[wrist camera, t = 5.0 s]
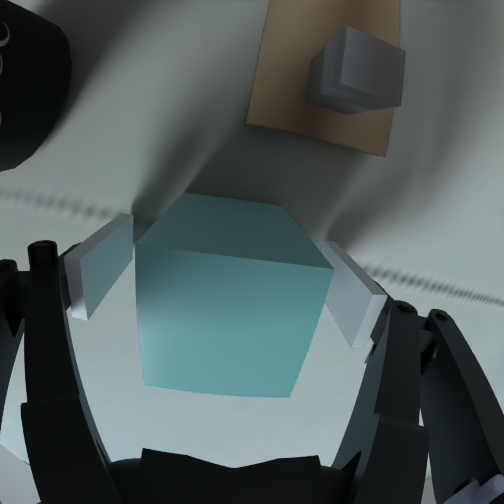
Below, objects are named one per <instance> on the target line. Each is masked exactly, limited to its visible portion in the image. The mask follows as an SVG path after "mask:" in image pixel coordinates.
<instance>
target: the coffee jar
mask: <svg viewBox="0 0 504 504" xmlns="http://www.w3.org/2000/svg"><path fill="white" fill-rule="evenodd" d="M71 64H72V62H71V55H70V48H69V42H68V40H67V38H66V37H65V35H64V33H63V32H62V30H61V29H60V27H58V26H57V25H55V24H53V23H51V22H49V21H48V20H46V19H44V18H42V17H40V16H38V15H36V14H35V13H33V12H31V11H29V10H27V9H25V8H23V7H21V6H19V5H17V4H14V3H12V2H10V1H8V0H0V172H1V171H5V170H9V169H14V168H16V167H17V166H18V165H20V164H21V163H22V162H24V161H25V160H27V159H28V158H29V157H31V156H32V155H33V154H34V152H35V151H36V150H37V149H38V147H39V146H40V145H41V144H42V142H43V141H44V140H45V139H46V138H47V136H48V134H49V133H50V132H51V130H52V128H53V126H54V124H55V122H56V121H57V119H58V117H59V115H60V113H61V112H62V108H63V105H64V102H65V99H66V96H67V93H68V90H69V83H70V75H71Z"/></svg>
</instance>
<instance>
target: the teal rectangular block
mask: <svg viewBox="0 0 504 504" xmlns="http://www.w3.org/2000/svg"><path fill="white" fill-rule="evenodd" d="M334 270H335V269H334V268H333V266H332V265H331V264H330V263H329V261H328V260H327V259H326V258H325V257H324V255H323V254H322V253H321V252H320V250H319V249H318V248H317V247H316V246H315V244H314V243H313V242H312V241H311V239H310V238H309V237H308V236H307V235H306V233H305V232H304V231H303V230H302V229H301V228H300V226H299V225H298V224H297V223H296V222H295V220H294V219H293V218H292V217H291V216H290V215H289V213H288V212H287V211H286V210H285V209H284V208H283V206H280V205H273V204H267V203H260V202H254V201H247V200H240V199H233V198H226V197H218V196H210V195H202V194H194V193H186V192H184V193H183V194H182V195H181V196H180V197H179V198H178V199H177V200H176V201H175V202H174V203H173V204H172V205H171V206H170V207H169V208H168V209H167V210H166V211H165V212H164V213H163V214H162V215H161V217H160V218H159V219H158V220H157V221H156V222H155V223H154V224H153V225H152V226H151V227H150V228H149V230H148V231H147V232H146V233H145V234H144V235H143V236H142V237H141V238H140V240H139V241H138V242H137V243H136V244H135V279H136V307H137V324H138V337H139V348H140V358H141V367H142V375H143V382H144V385H149V386H155V387H161V388H167V389H174V390H181V391H189V392H197V393H206V394H217V395H229V396H246V397H290V395H291V392H292V390H293V387H294V385H295V382H296V380H297V377H298V375H299V372H300V370H301V367H302V365H303V362H304V359H305V357H306V354H307V351H308V349H309V346H310V343H311V340H312V337H313V335H314V332H315V329H316V326H317V323H318V320H319V317H320V314H321V311H322V308H323V305H324V302H325V299H326V296H327V293H328V289H329V286H330V283H331V280H332V276H333V273H334Z"/></svg>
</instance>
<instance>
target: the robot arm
mask: <svg viewBox="0 0 504 504" xmlns="http://www.w3.org/2000/svg"><path fill="white" fill-rule="evenodd" d="M133 216H134V215H130V214H120V215H119V216H118V217H116V218H115V219H113V220H112V221H110V222H109V223H108V224H106V225H105V226H103V227H102V228H101V229H99V230H98V231H97V232H95V233H94V234H93V235H91V236H90V237H89V238H87V239H86V240H85V241H83V242H81V243H78V244H75V245H73V246H72V247H70V248H69V249H68V250H66V251H65V252H64V253H63V254H61V255H60V256H59V257H58V252H57V244H56V242H54V241H50V240H42V241H37V242H34V243H32V244H30V245H29V246H28V248H27V249H28V257H29V264H30V271H18V269H17V263H16V261H14V260H10V259H7V260H6V259H3V260H0V431H1V423H2V416H3V410H4V405H5V399H6V394H7V390H8V385H9V381H10V377H11V373H12V369H13V365H14V362H15V358H16V355H17V351H18V348H19V345H20V342H21V339H22V336H23V333H24V363H25V381H26V393H27V402H26V403H22V404H21V420H22V427H23V433H24V439H25V444H26V449H27V454H28V458H29V463H30V467H31V471H32V474H33V478H34V481H35V485H36V488H37V491H38V494H39V497H40V500H41V502H39V503H37V504H421V500H422V494H423V489H424V483H425V476H426V468H427V460H428V452H429V459H430V466H431V474H432V483H433V489H434V495H435V499H436V503H437V504H504V414H503V412H502V410H501V407H500V405H499V403H498V401H497V398H496V396H495V394H494V392H493V390H492V388H491V386H490V384H489V382H488V380H487V378H486V376H485V374H484V372H483V370H482V368H481V366H480V364H479V363H478V361H477V359H476V357H475V355H474V354H473V352H472V350H471V348H470V347H469V345H468V343H467V341H466V340H465V338H464V336H463V335H462V333H461V331H460V330H459V328H458V327H457V325H456V323H455V322H454V320H453V319H452V318H451V316H450V315H448V314H447V312H445V311H443V310H439V309H431V311H430V312H429V315H428V317H427V318H426V317H422V316H418V312H417V310H416V309H415V307H413V306H412V305H410V304H409V303H407V302H404V301H400V300H395V301H394V300H393V298H392V297H391V296H390V295H389V294H388V293H387V292H386V291H385V290H384V289H383V288H382V287H381V286H380V285H379V284H378V283H377V282H376V281H374V280H373V279H372V278H371V277H370V276H369V275H368V274H367V273H366V272H365V271H364V270H363V269H362V268H361V267H360V266H359V265H358V264H357V263H356V262H355V261H354V260H353V259H352V258H351V257H350V256H349V255H348V254H347V253H346V252H345V251H344V250H343V249H342V248H341V247H340V246H339V245H338V244H337V243H336V242H333V241H326V240H323V244H322V248H321V253H322V254H323V255H324V257H325V258H326V259H327V260H328V261H329V263H330V264H331V265H332V266H333V268H334V269H335V270H334V273H333V276H332V280H331V283H330V286H329V289H328V293H327V296H326V299H325V303H326V305H327V307H328V308H329V310H330V312H331V314H332V315H333V317H334V319H335V321H336V323H337V324H338V326H339V328H340V330H341V332H342V333H343V335H344V337H345V339H346V341H347V342H348V344H349V346H350V348H365V347H366V345H367V343H368V341H369V339H370V337H371V339H372V340H373V342H374V344H373V346H372V348H371V350H370V352H369V354H368V356H367V358H366V360H365V362H364V363H367V365H366V369H365V373H364V376H363V380H362V383H361V387H360V390H359V393H358V397H357V400H356V403H355V406H354V409H353V412H352V415H351V418H350V421H349V423H348V426H347V429H346V432H345V434H344V437H343V440H342V442H341V445H340V447H339V450H338V452H337V455H336V457H335V459H334V462H333V464H332V465H331V467H327V466H321V464H320V460H319V457H318V455H315V456H306V457H294V458H278V459H274V460H270V461H266V462H262V463H258V464H254V465H249V466H244V467H239V468H230V467H225V466H222V465H218V464H214V463H211V462H207V461H204V460H201V459H197V458H194V457H191V456H188V455H182V454H175V453H168V452H162V451H156V450H151V449H146V448H143V450H142V456H141V458H133V459H124V460H119V461H115V462H111V460H110V458H109V456H108V454H107V452H106V450H105V447H104V445H103V443H102V440H101V438H100V435H99V433H98V430H97V427H96V425H95V422H94V419H93V416H92V413H91V411H90V408H89V405H88V401H87V398H86V395H85V392H84V388H83V385H82V381H81V378H80V374H79V370H78V366H77V362H76V358H75V354H74V349H73V345H72V340H71V335H70V329H69V323H68V318H67V313H66V310H67V309H68V308H69V307H70V305H71V310H72V316H73V317H74V318H78V319H83V320H87V321H88V320H89V318H90V317H91V315H92V314H93V312H94V311H95V309H96V308H97V306H98V305H99V304H100V302H101V301H102V299H103V298H104V297H105V295H106V294H107V292H108V291H109V290H110V288H111V287H112V285H113V284H114V283H115V281H116V280H117V279H118V277H119V276H120V275H121V273H122V272H123V271H124V269H125V268H126V267H127V266H128V264H129V263H130V262H131V260H132V259H133ZM434 356H435V357H434ZM420 410H421V414H422V419H423V424H424V427H423V426H420V425H419V413H420ZM0 504H2V503H1V501H0Z"/></svg>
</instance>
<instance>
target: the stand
mask: <svg viewBox="0 0 504 504" xmlns="http://www.w3.org/2000/svg"><path fill="white" fill-rule="evenodd" d="M399 29H400V5H399V0H270V2H269V6H268V11H267V15H266V20H265V25H264V30H263V34H262V39H261V44H260V49H259V54H258V59H257V65H256V70H255V75H254V80H253V85H252V91H251V96H250V102H249V107H248V113H247V118H246V124H245V125H250V126H256V127H262V128H267V129H273V130H278V131H283V132H288V133H293V134H297V135H302V136H306V137H310V138H315V139H319V140H323V141H327V142H331V143H334V144H338V145H342V146H345V147H349V148H352V149H356V150H359V151H363V152H366V153H369V154H372V155H375V156H383V157H386V152H387V146H388V140H389V134H390V128H391V122H392V115H393V107H398V106H401V98H402V88H403V77H404V63H405V51H404V50H402V49H400V48H399Z"/></svg>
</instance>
